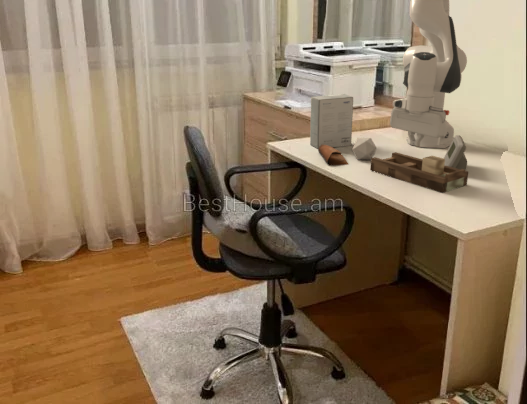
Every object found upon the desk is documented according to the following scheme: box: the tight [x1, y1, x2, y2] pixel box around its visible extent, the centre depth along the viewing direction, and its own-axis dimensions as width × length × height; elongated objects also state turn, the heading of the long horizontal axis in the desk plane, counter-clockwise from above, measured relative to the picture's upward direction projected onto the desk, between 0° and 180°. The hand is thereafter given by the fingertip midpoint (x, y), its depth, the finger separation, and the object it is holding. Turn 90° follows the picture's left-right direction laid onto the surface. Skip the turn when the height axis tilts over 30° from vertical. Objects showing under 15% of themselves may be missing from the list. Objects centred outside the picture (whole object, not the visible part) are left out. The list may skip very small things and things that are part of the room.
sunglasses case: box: [317, 145, 349, 166], centre depth 216 cm, size 18×7×7 cm
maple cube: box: [422, 155, 445, 175], centre depth 188 cm, size 5×5×5 cm
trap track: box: [370, 152, 469, 194], centre depth 193 cm, size 13×30×6 cm, turn 38°
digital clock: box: [443, 134, 468, 171], centre depth 203 cm, size 16×9×11 cm, turn 156°
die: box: [351, 137, 377, 161], centre depth 215 cm, size 8×9×10 cm
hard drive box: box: [309, 93, 354, 149], centre depth 231 cm, size 16×8×20 cm, turn 111°
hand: (414, 145), depth 191 cm, fingers closed
